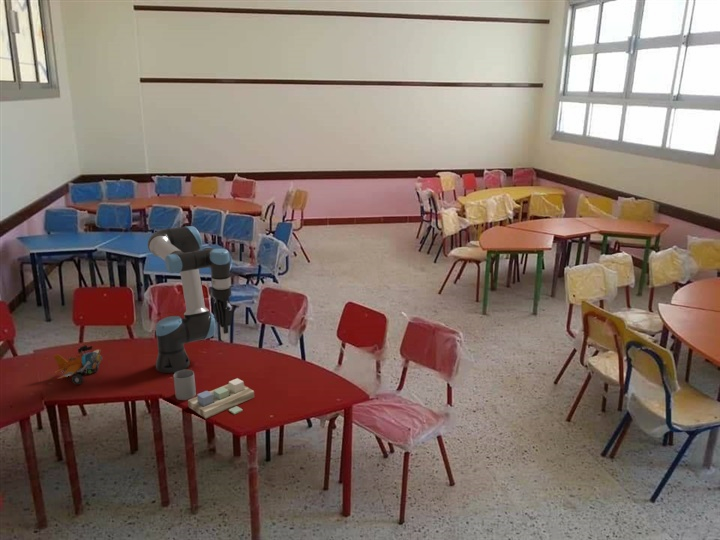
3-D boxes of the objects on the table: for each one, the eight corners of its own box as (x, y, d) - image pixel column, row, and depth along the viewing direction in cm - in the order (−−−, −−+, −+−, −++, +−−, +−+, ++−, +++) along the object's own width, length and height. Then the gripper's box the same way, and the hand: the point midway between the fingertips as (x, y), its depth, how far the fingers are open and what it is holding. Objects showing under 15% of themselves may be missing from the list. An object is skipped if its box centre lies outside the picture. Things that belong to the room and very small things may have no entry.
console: (188, 406, 238) (187, 400, 237) (236, 386, 255) (236, 380, 254) (205, 418, 230) (205, 412, 229) (254, 397, 246) (254, 391, 245)
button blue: (197, 404, 236) (197, 394, 235) (207, 400, 239) (206, 390, 238) (203, 408, 233) (203, 398, 232) (213, 404, 236) (212, 394, 235)
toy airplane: (90, 388, 246) (75, 357, 242) (45, 399, 250) (30, 369, 247) (126, 358, 273) (113, 329, 270) (85, 368, 278) (72, 340, 275)
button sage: (214, 400, 242) (213, 390, 240) (223, 396, 245) (222, 386, 244) (220, 403, 239) (219, 394, 237) (229, 400, 242) (228, 390, 241)
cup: (199, 394, 248) (197, 373, 245) (182, 402, 242) (180, 380, 239) (188, 388, 253) (186, 367, 250) (171, 395, 247) (169, 374, 244)
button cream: (229, 391, 247) (228, 381, 245) (238, 387, 250) (237, 378, 248) (235, 394, 244) (234, 385, 242) (244, 391, 247) (243, 381, 245)
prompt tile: (228, 410, 235) (228, 409, 235) (237, 407, 238) (236, 405, 238) (234, 414, 233) (234, 413, 233) (242, 410, 236) (242, 409, 235)
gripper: (205, 284, 239) (208, 337, 246) (222, 293, 230) (225, 347, 237) (220, 280, 244) (224, 332, 251) (238, 288, 235) (241, 341, 242)
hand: (224, 339), depth 244 cm, fingers closed
